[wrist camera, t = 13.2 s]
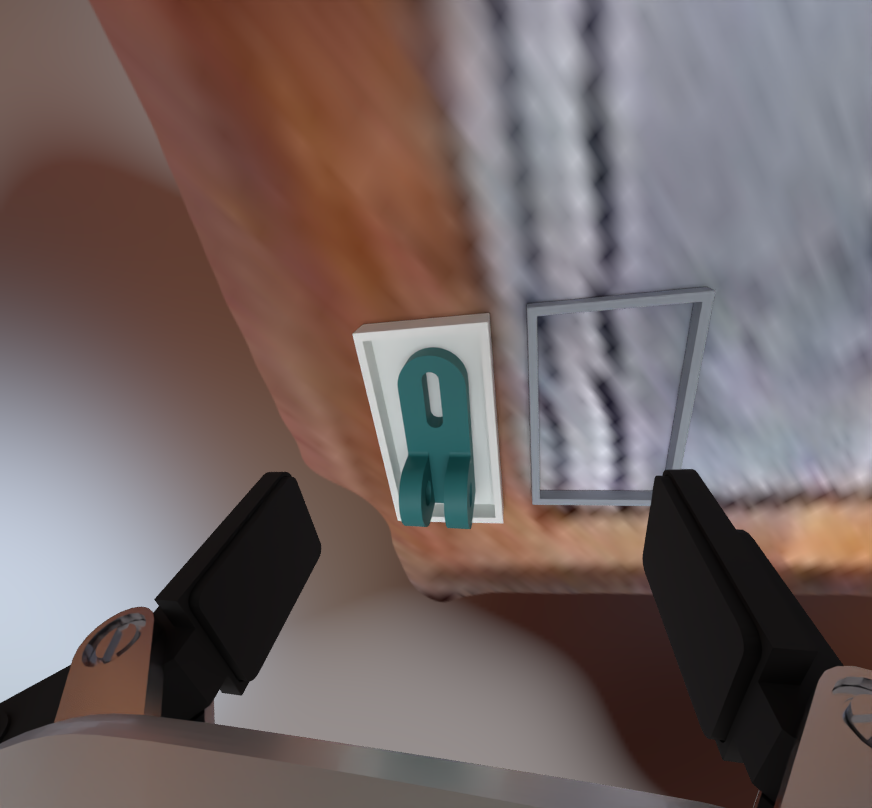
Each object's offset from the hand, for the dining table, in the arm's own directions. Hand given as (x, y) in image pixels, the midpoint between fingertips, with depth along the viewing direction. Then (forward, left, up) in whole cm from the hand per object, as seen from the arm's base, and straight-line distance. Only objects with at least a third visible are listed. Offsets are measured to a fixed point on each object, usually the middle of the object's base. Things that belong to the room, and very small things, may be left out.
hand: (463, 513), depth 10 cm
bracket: (+7, +14, -28) cm, 32 cm away
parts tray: (+7, +14, -28) cm, 32 cm away
